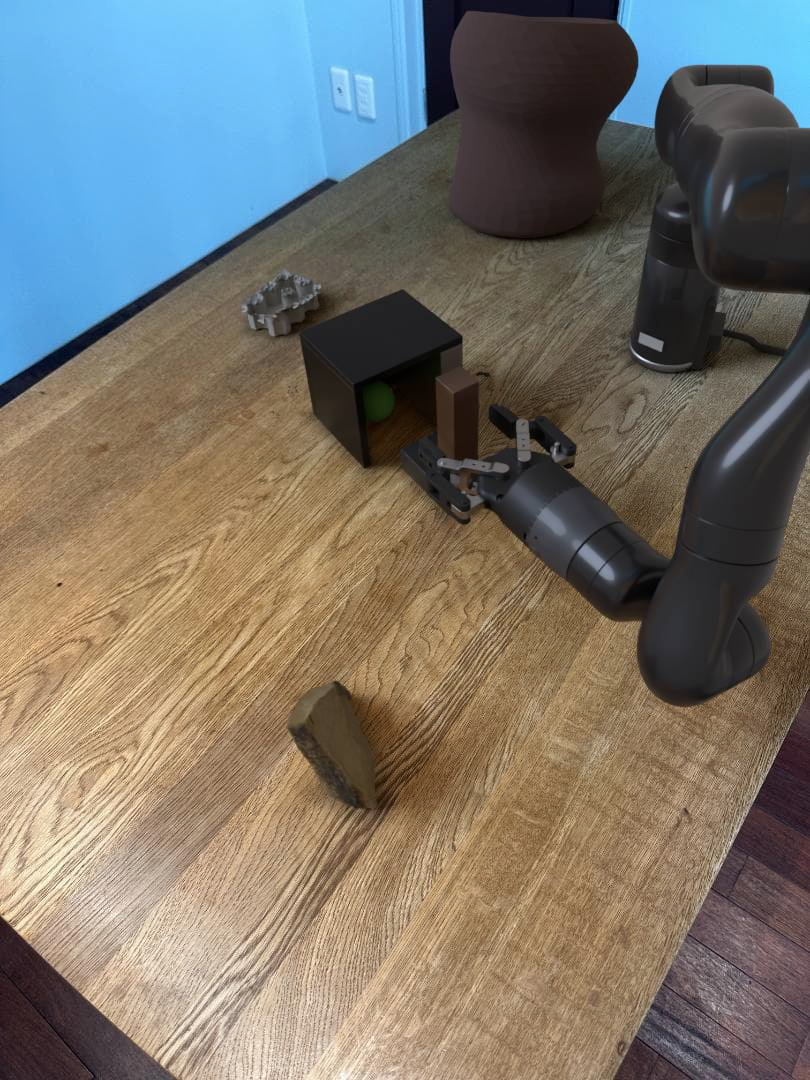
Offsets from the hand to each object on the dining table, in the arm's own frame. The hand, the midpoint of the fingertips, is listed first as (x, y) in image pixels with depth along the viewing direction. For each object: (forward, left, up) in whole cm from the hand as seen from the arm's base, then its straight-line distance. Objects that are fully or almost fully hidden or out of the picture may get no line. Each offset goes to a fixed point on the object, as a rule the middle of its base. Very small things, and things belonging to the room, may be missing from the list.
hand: (457, 427), depth 82 cm
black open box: (+12, -10, -10) cm, 19 cm away
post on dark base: (+2, -2, -10) cm, 10 cm away
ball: (+14, -10, -7) cm, 19 cm away
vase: (+8, -67, -10) cm, 69 cm away
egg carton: (+34, -27, -10) cm, 45 cm away
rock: (0, +32, -10) cm, 33 cm away
